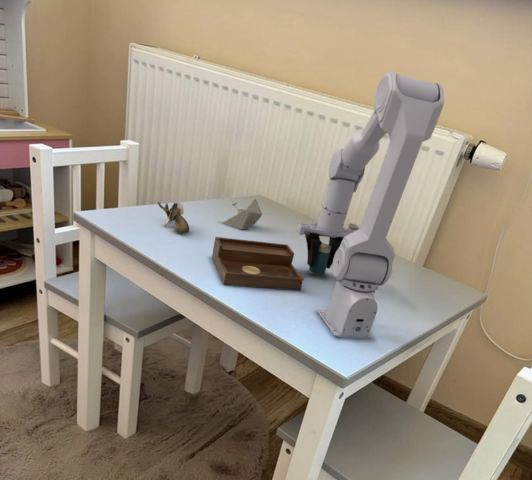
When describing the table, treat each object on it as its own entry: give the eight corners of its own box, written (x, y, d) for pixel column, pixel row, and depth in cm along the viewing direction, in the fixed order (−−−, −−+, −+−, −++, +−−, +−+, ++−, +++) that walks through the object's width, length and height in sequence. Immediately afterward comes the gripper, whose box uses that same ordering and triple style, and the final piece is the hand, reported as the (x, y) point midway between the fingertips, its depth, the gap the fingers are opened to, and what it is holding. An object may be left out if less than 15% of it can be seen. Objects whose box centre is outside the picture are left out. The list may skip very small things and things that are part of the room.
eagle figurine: (148, 215, 126) (162, 222, 119) (164, 191, 126) (179, 196, 119) (171, 232, 131) (186, 240, 125) (187, 209, 131) (202, 215, 124)
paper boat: (236, 229, 132) (213, 207, 135) (238, 243, 138) (216, 223, 141) (271, 204, 135) (248, 183, 138) (270, 219, 141) (248, 200, 144)
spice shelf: (300, 290, 111) (306, 268, 108) (223, 284, 105) (227, 261, 102) (282, 265, 121) (287, 244, 118) (211, 258, 115) (215, 236, 112)
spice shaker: (326, 275, 119) (334, 249, 116) (312, 274, 118) (319, 248, 115) (321, 268, 122) (328, 243, 119) (306, 267, 121) (313, 241, 118)
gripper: (356, 207, 118) (339, 261, 125) (298, 199, 113) (284, 256, 120) (369, 218, 113) (351, 274, 120) (309, 209, 108) (294, 268, 115)
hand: (318, 265), depth 120 cm, fingers closed on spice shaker, 4 cm apart
